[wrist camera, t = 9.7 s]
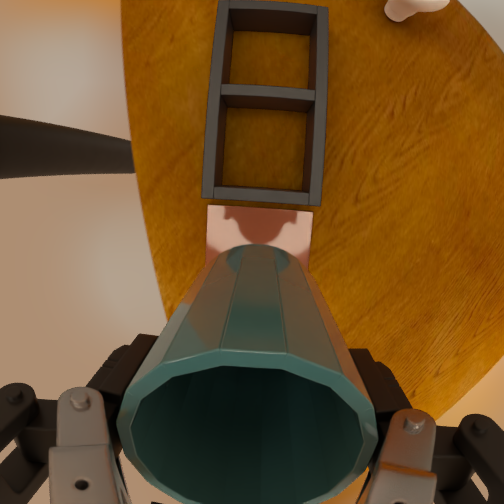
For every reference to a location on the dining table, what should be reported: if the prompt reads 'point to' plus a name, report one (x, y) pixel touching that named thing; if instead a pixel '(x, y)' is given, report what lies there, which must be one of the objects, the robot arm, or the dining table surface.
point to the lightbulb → (411, 7)
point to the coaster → (258, 229)
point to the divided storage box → (267, 95)
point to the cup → (249, 391)
